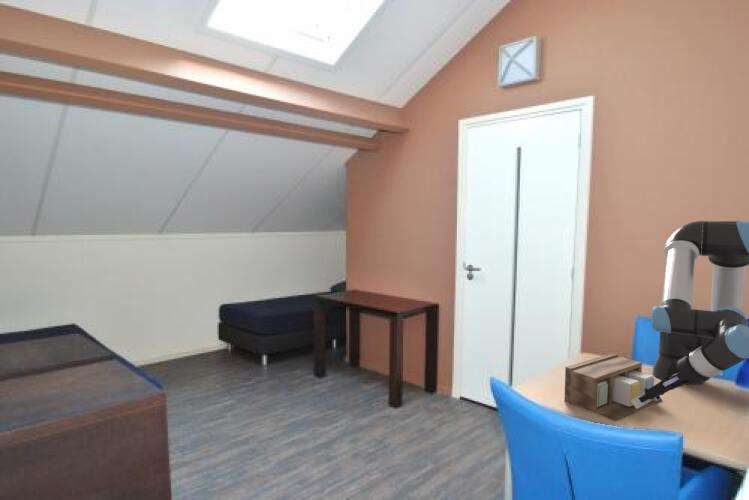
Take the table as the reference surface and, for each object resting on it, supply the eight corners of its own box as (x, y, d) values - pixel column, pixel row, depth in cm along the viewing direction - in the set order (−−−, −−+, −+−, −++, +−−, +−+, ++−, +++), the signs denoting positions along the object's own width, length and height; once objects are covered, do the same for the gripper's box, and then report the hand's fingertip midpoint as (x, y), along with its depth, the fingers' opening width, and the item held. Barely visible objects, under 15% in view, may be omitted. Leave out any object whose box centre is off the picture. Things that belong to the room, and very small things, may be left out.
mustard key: (639, 403, 148) (640, 381, 148) (631, 407, 146) (632, 384, 145) (616, 396, 155) (617, 374, 154) (608, 399, 152) (609, 377, 152)
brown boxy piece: (661, 400, 153) (663, 366, 152) (615, 420, 138) (616, 383, 138) (611, 384, 168) (612, 353, 167) (564, 401, 153) (565, 367, 152)
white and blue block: (653, 397, 153) (654, 376, 153) (646, 401, 151) (647, 379, 150) (631, 390, 160) (631, 369, 159) (623, 393, 157) (624, 372, 156)
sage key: (607, 404, 148) (608, 381, 148) (598, 407, 146) (599, 385, 145) (585, 396, 155) (586, 374, 154) (577, 399, 152) (577, 377, 151)
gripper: (699, 383, 117) (631, 421, 133) (721, 374, 124) (654, 410, 140) (677, 357, 121) (614, 397, 137) (700, 350, 128) (637, 388, 144)
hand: (634, 404), depth 138 cm, fingers closed
